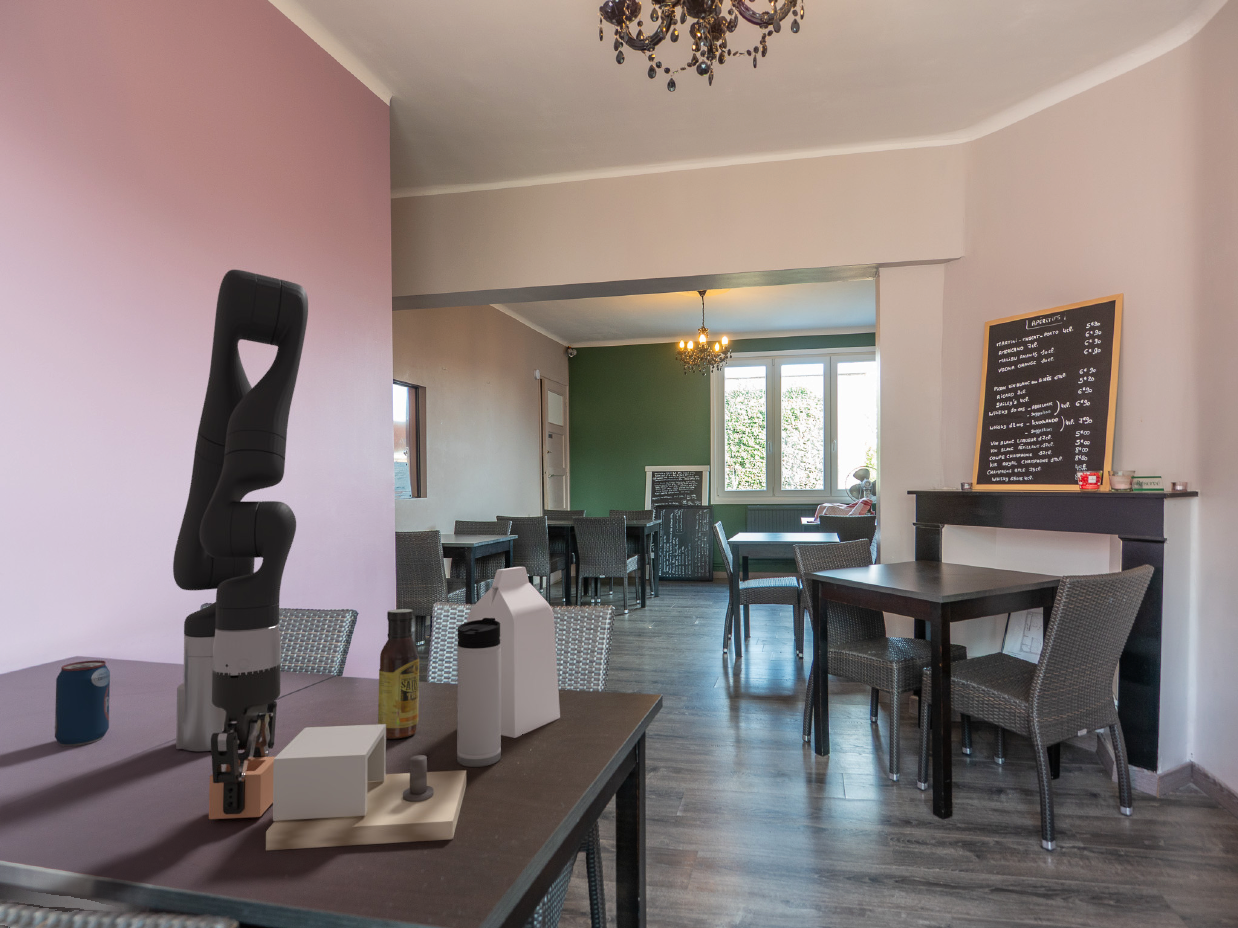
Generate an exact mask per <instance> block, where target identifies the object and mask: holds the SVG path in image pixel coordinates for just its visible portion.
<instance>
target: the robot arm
mask: <svg viewBox="0 0 1238 928" xmlns="http://www.w3.org/2000/svg"><path fill="white" fill-rule="evenodd" d="M308 316H309V298H308V294H307V291H306V289H305V288H304V287H303V286H302V285H300V284H298V283H295V282H292V281H289V280H285V279H280V278H278V277H277V278H276V277H272V276H268V275H264V274H260V273H255V272H250V271H246V270H241V269H234V268H233V269H230V270H228V271H227V272H226V273H225V275H223V277H222V280H221V283H220V286H219V289H218V294H217V302H216V309H215V319H214V329H213V337H212V339H213V340H212V349H211V358H210V359H211V360H210V368H209V375H208V381H207V386H206V393H205V397H204V402H203V407H202V410H201V416H200V420H199V424H198V429H197V436H196V441H195V448H194V455H193V456H194V457H193V465H192V472H191V473H192V474H191V480H190V487H189V493H188V497H187V502H186V507H185V510H184V514H183V518H182V521H181V525H180V529H179V532H178V536H177V541H176V545H175V550H174V554H173V563H172V572H173V574H172V575H173V578H174V582H175V584H176V586H177V587H179V589H181V590H184V591H205V590H207V591H208V590H216V594H215V602H214V603H212V604H209V605H208V606H205V607H204V608H201V609H199V610H197V611H194V612H192V613H190V614H189V615H187V616H186V618H185V619H184V625H183V674H182V675H183V683H181V684H179V685H178V686H177V688H176V690H177V691H176V736H175V737H176V739H175V746H176V747H175V749H176V750H185V751H190V752H209V751H210V753H211V766H212V767H211V770H212V774H213V782H214V783H224V787H223V812H224V813H225V814H240V813H241V812H242V811H243V810H244V809H245V777H246V770H247V764H248V761H249V760H251V759H252V758H253V757H269V755H270V751H269V750H272V749H273V748H274V746H275V738H276V737H275V735H276V722H277V720H276V719H277V707H278V702H277V699H278V698H279V697H280V695H281V679H282V678H281V669H282V667H281V666H282V664H281V663H282V639H281V631H280V598H281V597H280V595H281V585H282V579H283V575H284V570H285V566H286V563H287V560H288V557H289V553H290V551H291V549H292V545H293V542H294V538H295V535H296V530H297V517H296V515H295V512H294V511H293V510H292V508H290V506H289V505H288V504H287V503H285V502H282V501H277V500H274V501H272V500H270V501H269V500H266V501H264V500H262V501H261V500H260V501H251V500H249V501H242V500H243V499H244V498H245V496H246V495H248V494H250V493H252V492H255V491H259V490H264V489H267V488H271V487H274V486H276V485H278V484H280V483H281V482H282V481H283V478H284V475H285V468H286V467H285V465H286V451H287V436H288V426H289V418H290V411H291V407H292V402H293V396H294V392H295V388H296V383H297V379H298V374H299V370H300V363H301V358H302V352H303V348H304V342H305V338H306V337H305V336H306V331H307V325H308ZM241 340H242V341H247V342H249V341H250V342H253V343H259V344H265V345H270V346H275V347H277V351H276V355H275V358H274V359H273V362H272V364H271V366H270V367H269V369H268V370H267V371H266V372H265V374H264V375H263V376H262V377H261V378H260V380H259V381H258V382H257V383H256V384H255V385H254V386H253V387H252V385H251V382H249V379H248V377H247V374H246V372H245V371H246V370H245V369H244V366H243V363H242V360H241V357H240V352H239V342H240V341H241ZM256 558H260V559H261V558H262V561H261V562H262V563H261V565H260V566H259V568H258V570H256V571H255V562H256V561H255V559H256ZM239 751H242V752H239ZM239 760H240V765H239ZM221 766H222V769H221ZM229 770H230V771H229Z"/></svg>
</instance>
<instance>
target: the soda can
mask: <svg viewBox="0 0 1238 928" xmlns="http://www.w3.org/2000/svg"><path fill="white" fill-rule="evenodd" d="M60 669H61V670H60V672H59V674H58V675H57V677H56V679H55V682H56V683H55V713H54V738H55V740H56V741H57V743H58V744H59V745H60V746H63V747H77V746H78V747H79V746H83V745H89V744H92V743H95V742H98V741H100V740H103V739H104V737H105V735H106V734H107V732H108V730H109V729H110V694H111V693H110V690H111V689H110V687H111V686H110V685H111V684H110V680H111V671H110V669H109V668H108V666H107V662H106V660H100V659H99V660H94V659H93V660H85V661H78V662H77V661H76V662H71V663H66V664H64V665H62V666H61V668H60Z"/></svg>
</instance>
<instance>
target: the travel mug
mask: <svg viewBox="0 0 1238 928" xmlns="http://www.w3.org/2000/svg"><path fill="white" fill-rule="evenodd" d="M499 637H500V623H499V622H498V621H495V618H483V619H482V620H475V621H470V622H467V621H466V622H464V623H461V624H460V625H459V626H458V627H457V639H458V640H457V647H456V648H457V651H456V652H457V653H456V654H457V656H456V657H457V658H456V660H457V662H456V663H457V664H456V665H457V666H456V667H457V670H456V674H457V675H456V676H457V678H456V679H457V681H456V683H457V684H456V685H457V686H456V691H457V693H456V697H457V698H456V699H457V700H456V702H457V704H456V705H457V706H456V709H457V711H456V712H457V713H456V714H457V715H456V720H457V721H456V722H457V723H456V726H457V727H456V733H457V734H456V737H457V738H456V739H457V740H456V743H457V744H456V745H457V746H456V749H457V751H456V761H457V763H458V764H459V765H462V766H463V767H469V768H481V767H487V766H490V765H493V764H495V763H497V762H499V760H501V758H502V755H501V754H502V749H501V746H502V742H501V739H502V737H501V736H502V735H501V648H500V646H501V643H500V638H499Z"/></svg>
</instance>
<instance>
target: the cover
mask: <svg viewBox="0 0 1238 928" xmlns="http://www.w3.org/2000/svg"><path fill="white" fill-rule="evenodd" d="M386 744H387V738H386V724H378V723H376V724H359V725H357V724H355V725H354V724H353V725H335V726H315V727H314V726H313V727H304V728H303V729H302V730H301V731H300V732H299V733H298V734H297V735H296V736H295V737H294V738H293V739H292V740H291V741H290V742H289V743H288V744H287V745H286V746H285V747H284V748H283V749H282V750H281V751H280V752H279V753H278V754H277V755H275V756H274V757H275V758H274V768H273V803H272V821H273V822H274V821H276V820H294V819H312V818H330V817H347V816H365V815H366V813H367V782H370V781H384V780H385V778H386V774H387V773H386V771H387V765H386V764H387V763H386V762H387V758H386V757H387V754H386V753H387V752H386V751H387V750H386V749H387V747H386V746H387V745H386Z"/></svg>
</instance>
